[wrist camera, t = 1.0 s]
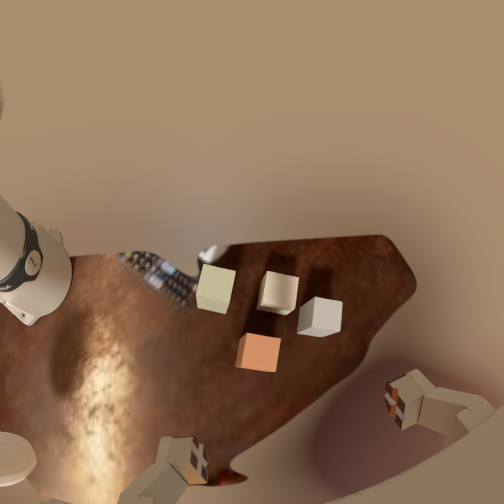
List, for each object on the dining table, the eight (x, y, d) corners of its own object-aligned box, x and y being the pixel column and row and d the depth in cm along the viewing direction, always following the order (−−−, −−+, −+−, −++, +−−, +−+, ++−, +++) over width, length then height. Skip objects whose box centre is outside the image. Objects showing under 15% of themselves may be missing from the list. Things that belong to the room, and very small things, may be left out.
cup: (34, 438, 28) (-39, 455, 9) (47, 412, 31) (-32, 423, 12) (63, 465, 27) (-2, 500, 8) (77, 440, 30) (7, 471, 11)
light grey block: (296, 333, 44) (311, 327, 38) (300, 307, 46) (315, 296, 40) (321, 337, 44) (340, 331, 38) (324, 311, 46) (342, 301, 40)
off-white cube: (256, 309, 45) (262, 302, 40) (261, 280, 47) (267, 270, 42) (285, 315, 45) (294, 308, 40) (289, 286, 47) (298, 277, 43)
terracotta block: (235, 366, 40) (241, 366, 33) (240, 338, 42) (247, 332, 35) (263, 371, 41) (275, 371, 33) (267, 343, 43) (280, 338, 35)
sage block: (197, 307, 43) (196, 295, 36) (203, 281, 45) (203, 264, 38) (225, 313, 44) (229, 302, 36) (230, 287, 45) (235, 271, 38)
